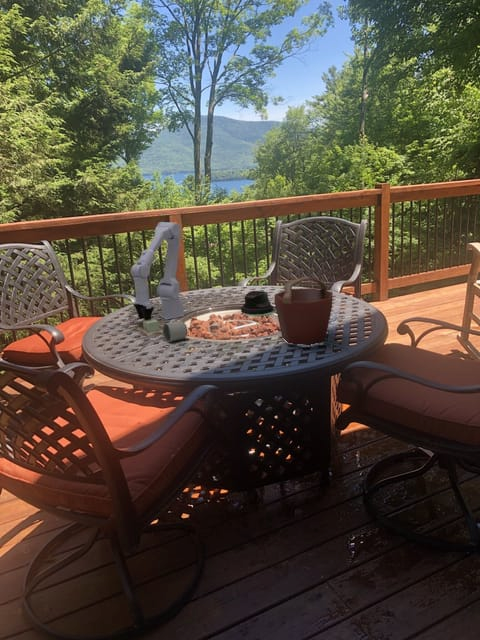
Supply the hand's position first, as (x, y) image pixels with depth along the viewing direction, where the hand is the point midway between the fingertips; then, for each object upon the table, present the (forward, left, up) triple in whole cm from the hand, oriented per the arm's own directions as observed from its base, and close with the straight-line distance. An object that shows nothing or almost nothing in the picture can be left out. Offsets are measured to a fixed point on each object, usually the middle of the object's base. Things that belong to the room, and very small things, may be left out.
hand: (144, 320), depth 217 cm
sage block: (0, +7, -2) cm, 7 cm away
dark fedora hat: (-54, +10, -3) cm, 55 cm away
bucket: (-44, +58, -3) cm, 73 cm away
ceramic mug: (-3, +25, -3) cm, 25 cm away
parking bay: (0, +10, -2) cm, 10 cm away
